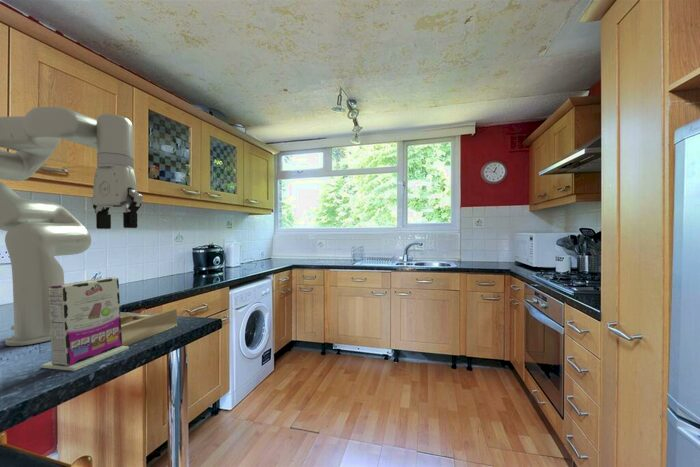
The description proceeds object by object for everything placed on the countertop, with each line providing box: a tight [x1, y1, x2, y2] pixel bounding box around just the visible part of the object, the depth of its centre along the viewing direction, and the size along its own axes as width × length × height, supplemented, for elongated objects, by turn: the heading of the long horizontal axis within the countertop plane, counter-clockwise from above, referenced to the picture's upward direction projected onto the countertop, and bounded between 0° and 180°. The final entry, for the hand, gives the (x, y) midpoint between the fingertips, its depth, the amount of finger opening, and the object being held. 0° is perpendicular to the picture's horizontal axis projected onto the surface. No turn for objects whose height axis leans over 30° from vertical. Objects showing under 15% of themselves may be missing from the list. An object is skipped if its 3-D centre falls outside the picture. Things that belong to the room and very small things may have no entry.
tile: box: [41, 345, 130, 372], centre depth 63 cm, size 9×11×1 cm
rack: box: [121, 308, 178, 346], centre depth 78 cm, size 15×16×5 cm
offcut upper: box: [120, 311, 133, 325], centre depth 79 cm, size 4×6×2 cm, turn 45°
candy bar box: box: [48, 277, 122, 366], centre depth 63 cm, size 11×5×16 cm, turn 168°
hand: (116, 228), depth 75 cm, fingers open, 9 cm apart
